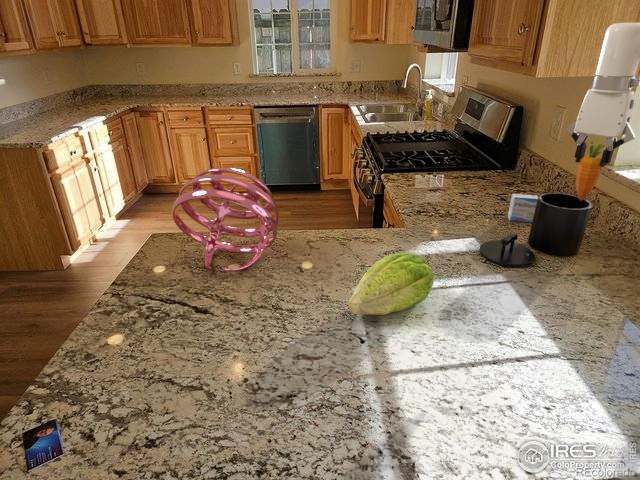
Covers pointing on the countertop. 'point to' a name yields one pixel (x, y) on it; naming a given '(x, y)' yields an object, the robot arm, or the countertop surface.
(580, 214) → the trash can
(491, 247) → the bin lid
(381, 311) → the lettuce
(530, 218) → the medicine box
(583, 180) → the carrot
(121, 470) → the countertop surface
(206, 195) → the pink openwork sphere
